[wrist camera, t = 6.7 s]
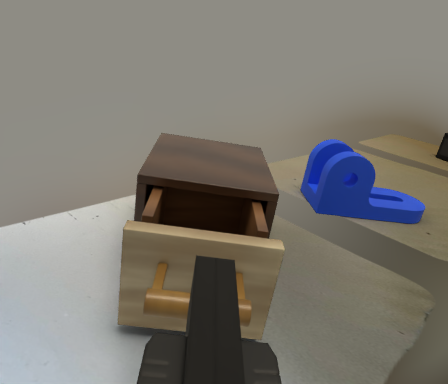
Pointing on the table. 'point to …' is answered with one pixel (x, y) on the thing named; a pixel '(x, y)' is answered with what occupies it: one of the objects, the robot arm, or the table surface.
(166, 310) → the drawer
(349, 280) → the table surface
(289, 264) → the table surface
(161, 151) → the cabinet
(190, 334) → the robot arm
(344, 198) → the bracket
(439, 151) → the digital camera
